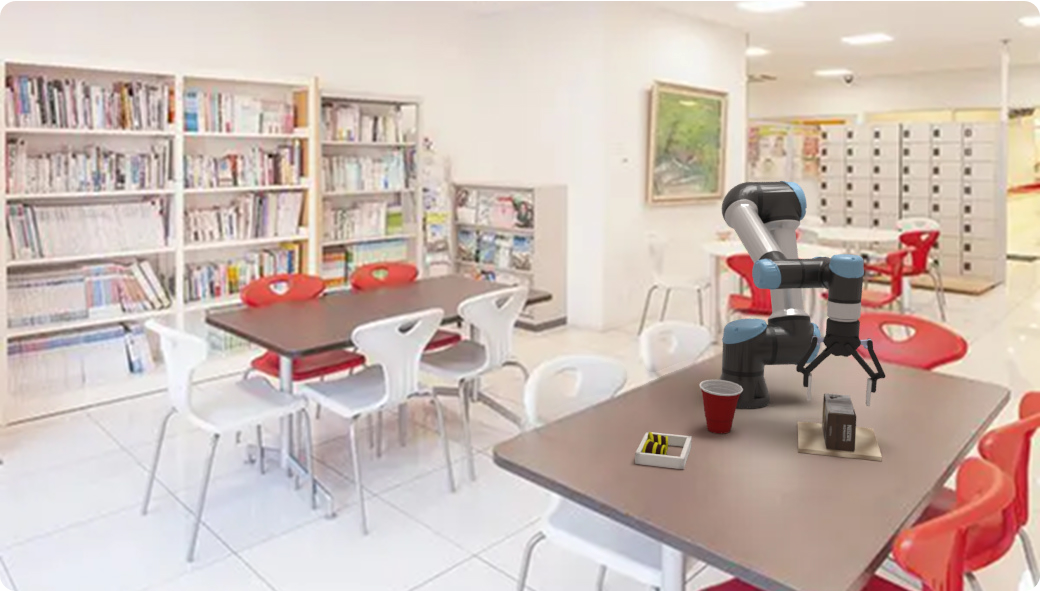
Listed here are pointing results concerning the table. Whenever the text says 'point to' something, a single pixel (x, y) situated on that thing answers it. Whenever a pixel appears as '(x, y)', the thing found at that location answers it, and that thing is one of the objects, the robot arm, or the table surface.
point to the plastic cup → (720, 404)
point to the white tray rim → (665, 459)
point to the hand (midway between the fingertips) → (837, 402)
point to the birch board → (815, 444)
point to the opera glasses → (656, 444)
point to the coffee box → (839, 422)
